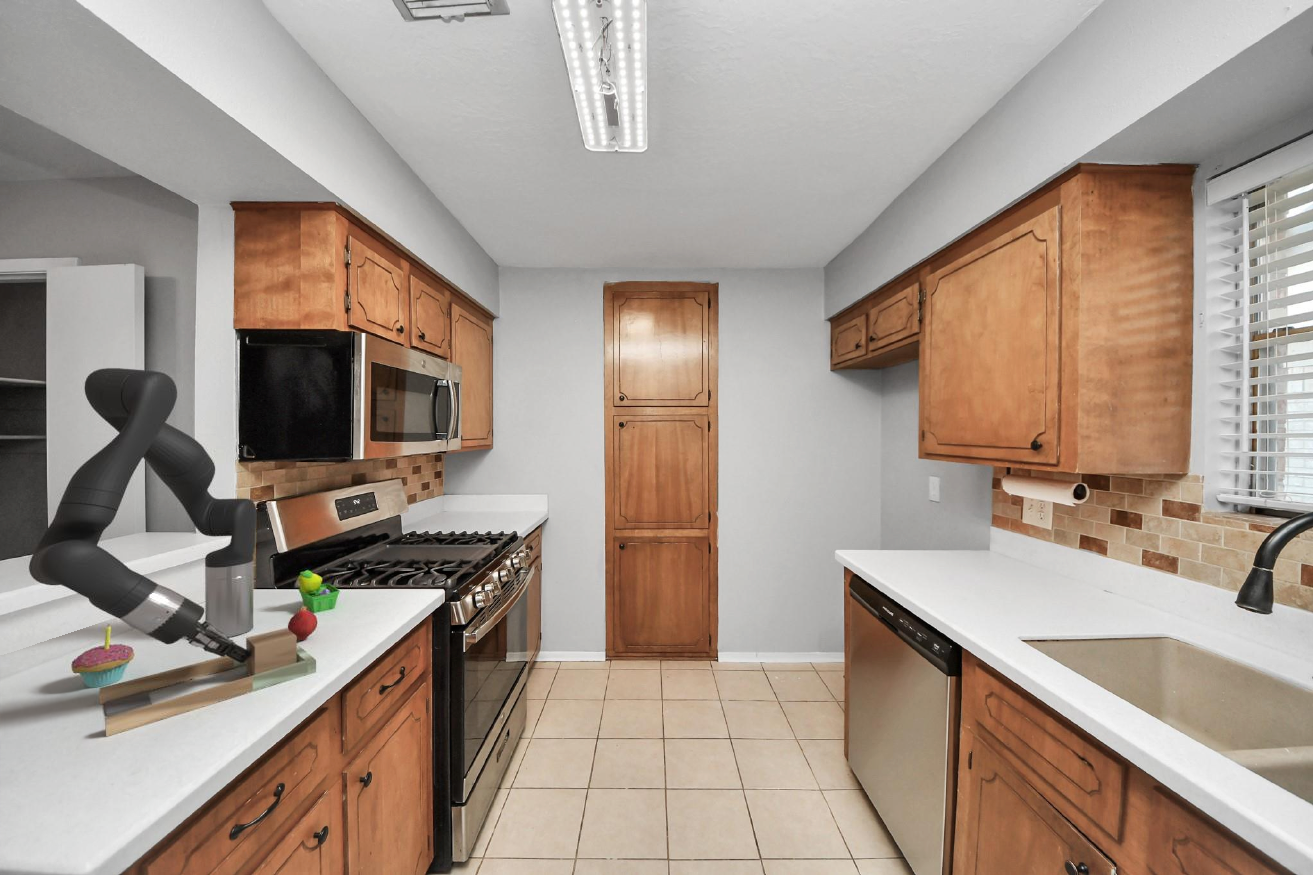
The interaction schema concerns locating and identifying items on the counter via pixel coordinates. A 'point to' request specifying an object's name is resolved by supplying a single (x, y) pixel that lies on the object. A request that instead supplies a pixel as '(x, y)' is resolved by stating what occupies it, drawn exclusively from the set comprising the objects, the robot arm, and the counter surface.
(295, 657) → the walnut block
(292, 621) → the onion
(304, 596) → the fruit basket
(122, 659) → the cupcake
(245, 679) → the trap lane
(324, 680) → the counter surface
